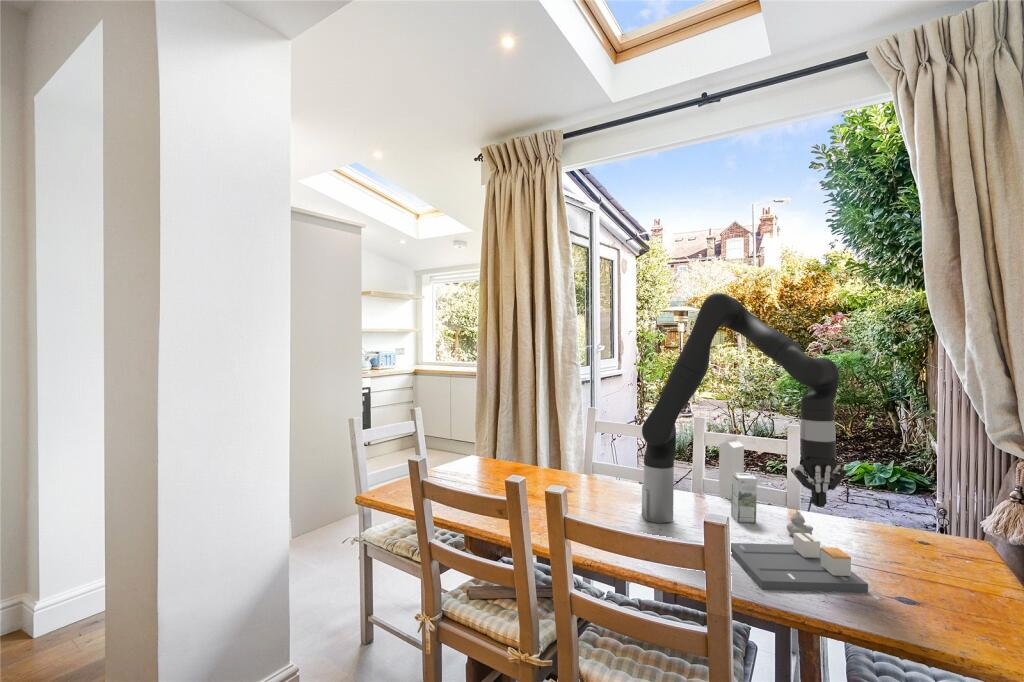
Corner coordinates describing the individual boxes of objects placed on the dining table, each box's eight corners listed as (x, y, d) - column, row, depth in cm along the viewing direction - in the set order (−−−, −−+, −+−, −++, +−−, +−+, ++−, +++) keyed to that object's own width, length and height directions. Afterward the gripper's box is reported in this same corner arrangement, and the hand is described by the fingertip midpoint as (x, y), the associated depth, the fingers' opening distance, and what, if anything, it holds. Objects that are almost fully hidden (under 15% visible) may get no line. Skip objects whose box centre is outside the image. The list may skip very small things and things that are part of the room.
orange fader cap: (833, 575, 113) (833, 556, 113) (820, 565, 118) (820, 547, 118) (850, 575, 113) (851, 557, 112) (837, 565, 118) (837, 547, 117)
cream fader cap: (804, 557, 122) (804, 539, 122) (793, 548, 127) (793, 531, 127) (820, 557, 122) (820, 540, 122) (808, 548, 127) (809, 532, 127)
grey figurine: (788, 530, 144) (788, 504, 143) (814, 536, 140) (814, 509, 139) (785, 536, 139) (785, 509, 139) (811, 543, 135) (812, 515, 135)
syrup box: (749, 516, 155) (749, 472, 154) (756, 523, 149) (757, 477, 148) (730, 515, 155) (731, 471, 155) (737, 523, 149) (738, 477, 149)
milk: (743, 497, 173) (744, 437, 172) (732, 500, 170) (734, 439, 169) (728, 492, 178) (729, 434, 177) (718, 495, 175) (719, 435, 174)
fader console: (761, 589, 111) (761, 580, 111) (726, 550, 131) (727, 542, 131) (868, 592, 109) (868, 583, 109) (816, 552, 129) (816, 544, 129)
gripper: (799, 440, 116) (800, 511, 116) (854, 440, 115) (856, 511, 115) (782, 434, 124) (784, 501, 124) (835, 433, 123) (836, 500, 123)
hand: (819, 505), depth 119 cm, fingers closed
